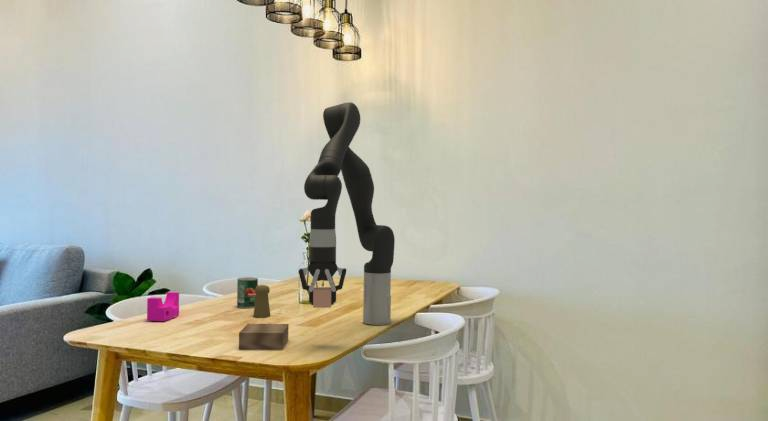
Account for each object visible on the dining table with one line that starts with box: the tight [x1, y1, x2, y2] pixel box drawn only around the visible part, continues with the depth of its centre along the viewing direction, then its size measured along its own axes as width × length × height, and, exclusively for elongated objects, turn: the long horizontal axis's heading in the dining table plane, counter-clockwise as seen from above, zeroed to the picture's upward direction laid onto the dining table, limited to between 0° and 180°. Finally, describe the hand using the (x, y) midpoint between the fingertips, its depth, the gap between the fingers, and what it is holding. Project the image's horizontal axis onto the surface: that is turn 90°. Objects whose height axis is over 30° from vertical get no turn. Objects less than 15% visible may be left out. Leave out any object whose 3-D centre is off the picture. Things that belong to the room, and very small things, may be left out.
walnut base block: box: [238, 323, 289, 351], centre depth 159 cm, size 12×12×5 cm
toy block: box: [146, 291, 180, 322], centre depth 197 cm, size 15×6×8 cm, turn 173°
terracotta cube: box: [312, 286, 332, 309], centre depth 159 cm, size 5×5×5 cm
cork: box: [252, 284, 271, 318], centre depth 201 cm, size 6×6×11 cm
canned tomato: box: [236, 277, 259, 309], centre depth 219 cm, size 8×8×11 cm
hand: (322, 304), depth 159 cm, fingers closed on terracotta cube, 5 cm apart
